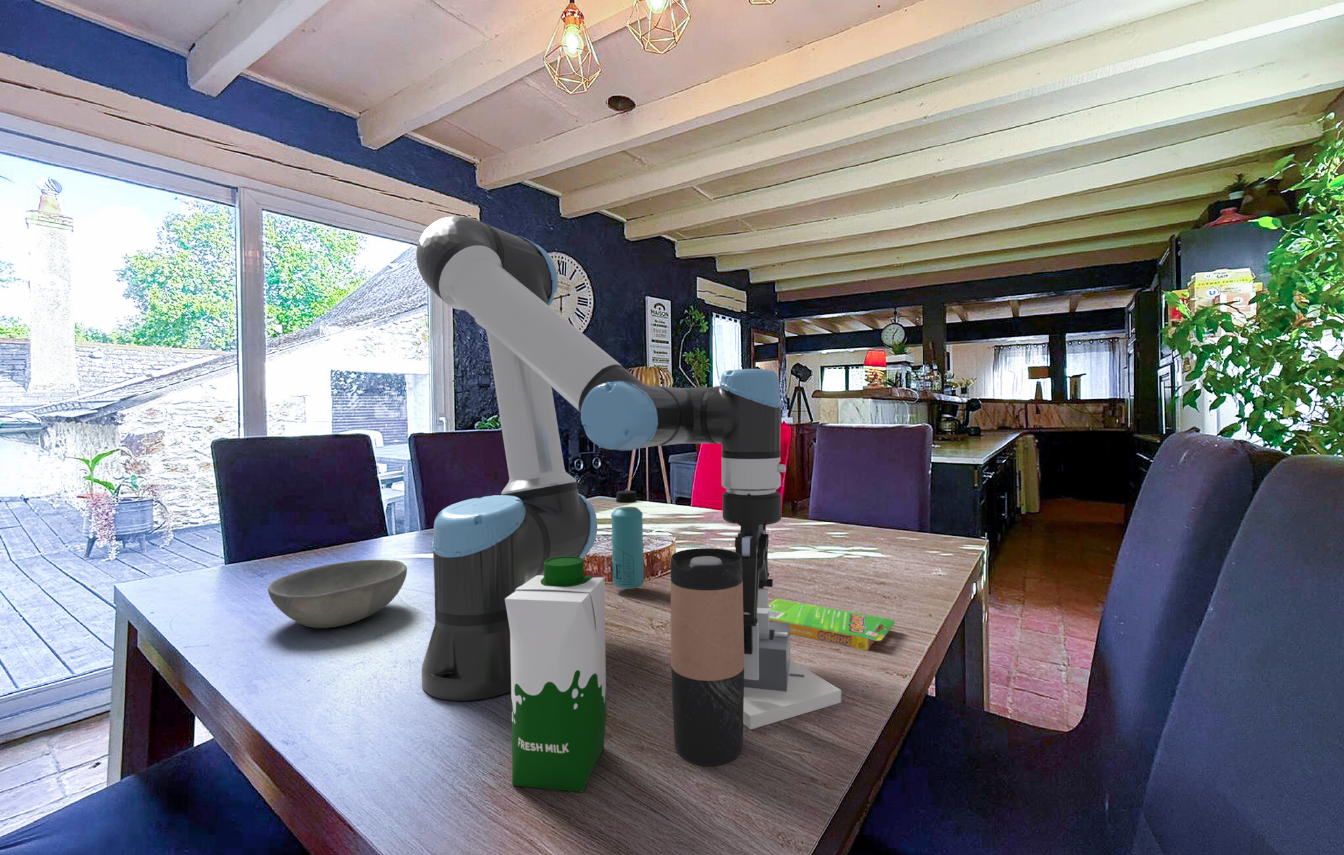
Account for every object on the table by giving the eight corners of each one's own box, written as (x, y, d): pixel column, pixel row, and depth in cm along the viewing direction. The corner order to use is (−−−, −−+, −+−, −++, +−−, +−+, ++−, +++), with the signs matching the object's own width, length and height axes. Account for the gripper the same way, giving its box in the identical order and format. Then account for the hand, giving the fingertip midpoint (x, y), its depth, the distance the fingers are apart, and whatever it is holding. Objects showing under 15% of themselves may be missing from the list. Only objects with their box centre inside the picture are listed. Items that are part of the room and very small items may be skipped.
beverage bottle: (651, 589, 115) (649, 489, 114) (631, 598, 109) (630, 493, 109) (625, 584, 118) (623, 487, 118) (604, 593, 113) (603, 491, 112)
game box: (777, 615, 102) (897, 632, 91) (752, 633, 94) (881, 655, 83) (776, 598, 102) (896, 613, 91) (751, 614, 94) (879, 634, 83)
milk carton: (614, 744, 61) (611, 556, 60) (588, 801, 52) (585, 581, 51) (535, 738, 62) (532, 554, 62) (497, 792, 53) (493, 577, 53)
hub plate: (750, 729, 63) (749, 643, 63) (677, 666, 79) (676, 598, 79) (841, 702, 69) (840, 623, 69) (755, 648, 85) (755, 584, 85)
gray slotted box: (712, 683, 71) (711, 641, 71) (723, 654, 79) (723, 616, 79) (786, 691, 69) (786, 647, 68) (790, 660, 77) (789, 621, 77)
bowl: (403, 631, 94) (402, 582, 94) (250, 652, 86) (249, 599, 86) (410, 594, 114) (409, 554, 113) (286, 608, 106) (285, 565, 106)
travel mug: (739, 724, 64) (737, 547, 64) (750, 766, 56) (748, 564, 56) (670, 727, 64) (668, 548, 63) (673, 769, 56) (670, 566, 56)
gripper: (774, 506, 60) (776, 705, 61) (786, 479, 85) (787, 622, 85) (704, 504, 62) (706, 697, 63) (735, 479, 87) (737, 618, 87)
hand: (753, 654), depth 74 cm, fingers open, 13 cm apart
